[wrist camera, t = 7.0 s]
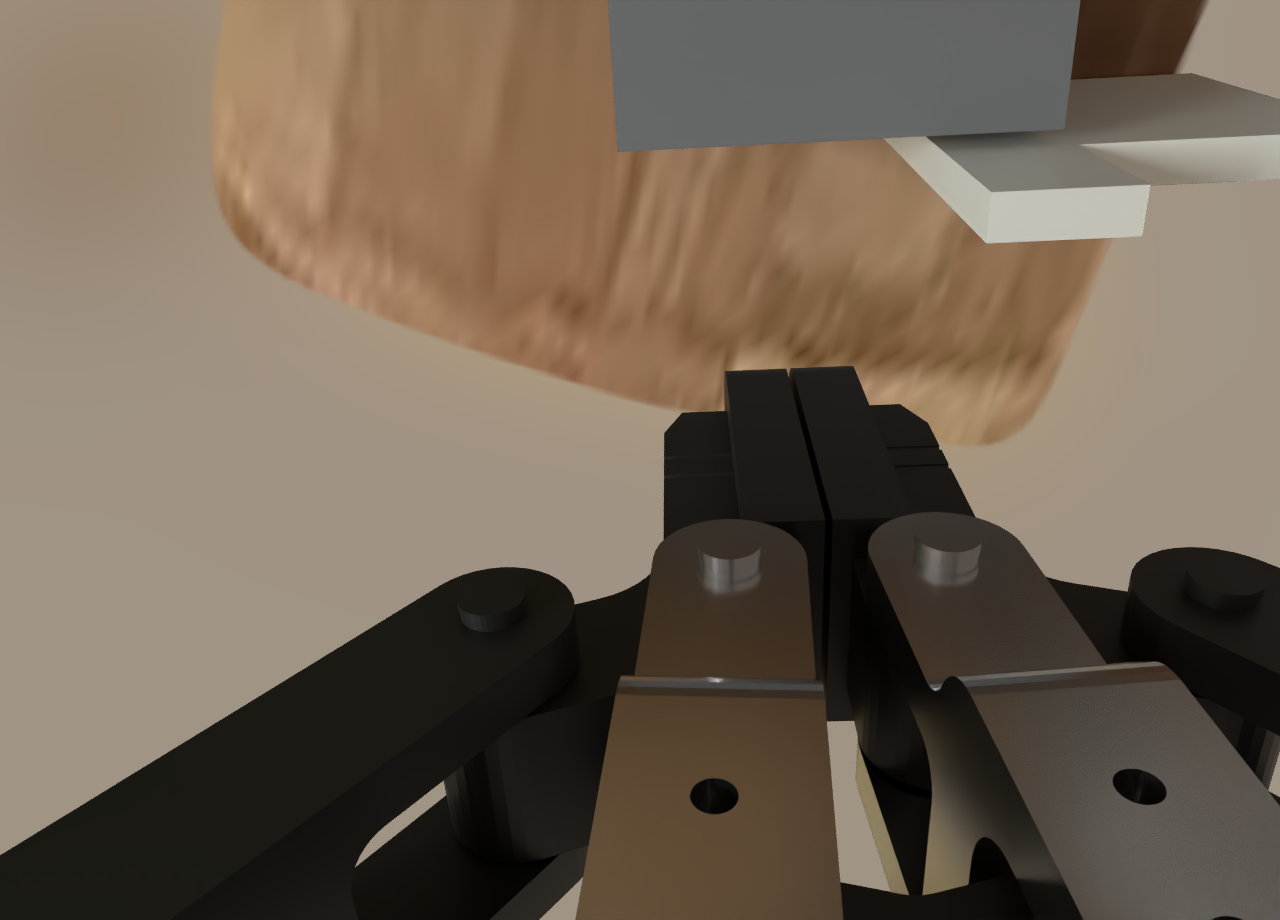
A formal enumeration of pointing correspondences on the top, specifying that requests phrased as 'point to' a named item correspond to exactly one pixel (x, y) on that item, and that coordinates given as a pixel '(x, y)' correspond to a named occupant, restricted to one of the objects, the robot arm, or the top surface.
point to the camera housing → (836, 69)
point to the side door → (1101, 157)
